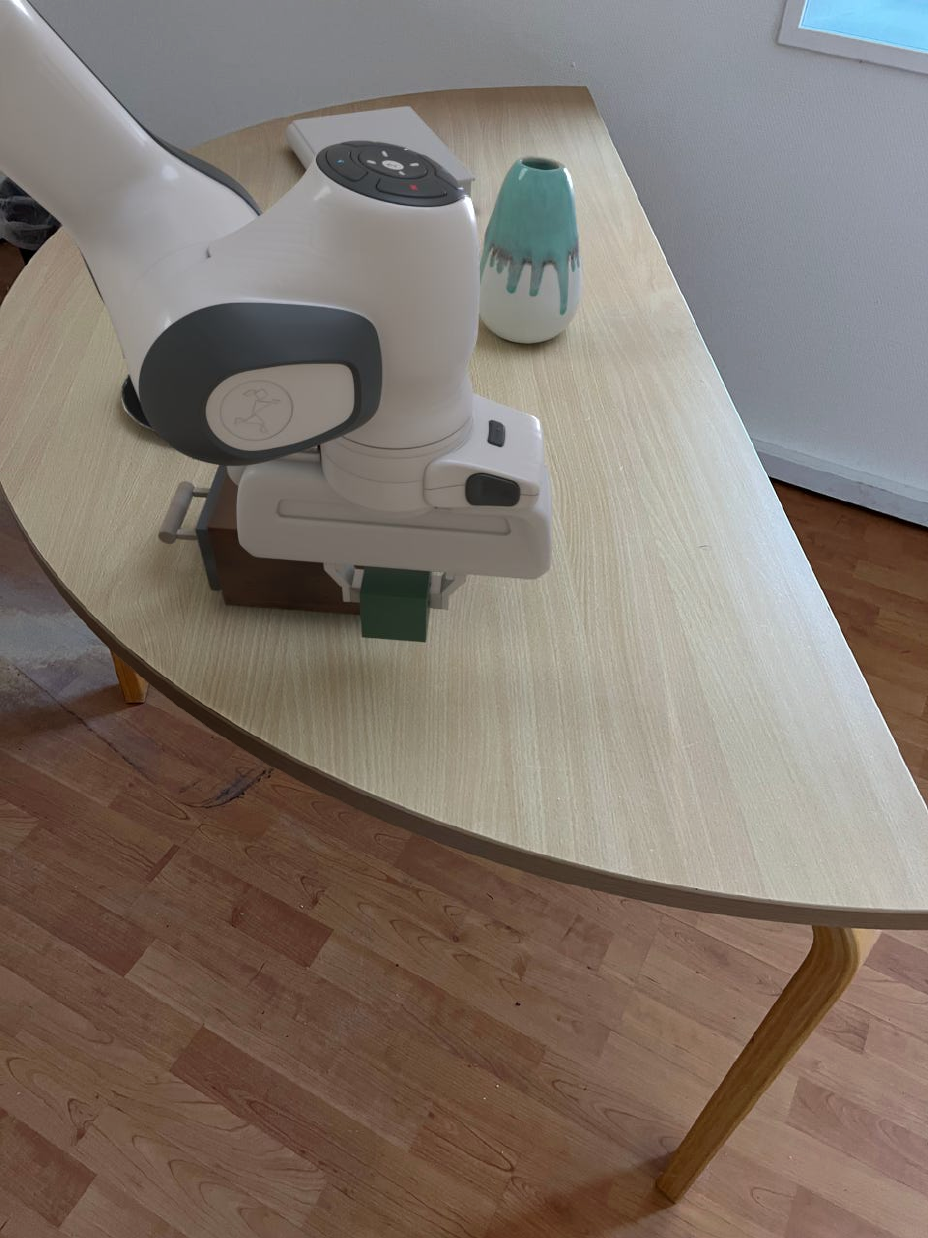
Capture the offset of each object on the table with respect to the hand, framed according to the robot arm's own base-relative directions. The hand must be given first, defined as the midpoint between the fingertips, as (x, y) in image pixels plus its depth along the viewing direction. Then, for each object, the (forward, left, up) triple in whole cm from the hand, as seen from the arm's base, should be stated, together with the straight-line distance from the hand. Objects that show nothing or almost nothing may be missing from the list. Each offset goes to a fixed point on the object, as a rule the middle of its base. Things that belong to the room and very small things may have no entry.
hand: (397, 599), depth 65 cm
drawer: (-7, +14, -7) cm, 17 cm away
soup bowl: (-11, +38, -8) cm, 40 cm away
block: (0, 0, -2) cm, 2 cm away
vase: (+24, +43, -8) cm, 50 cm away
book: (+16, +82, -8) cm, 84 cm away
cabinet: (-4, +13, -8) cm, 16 cm away
